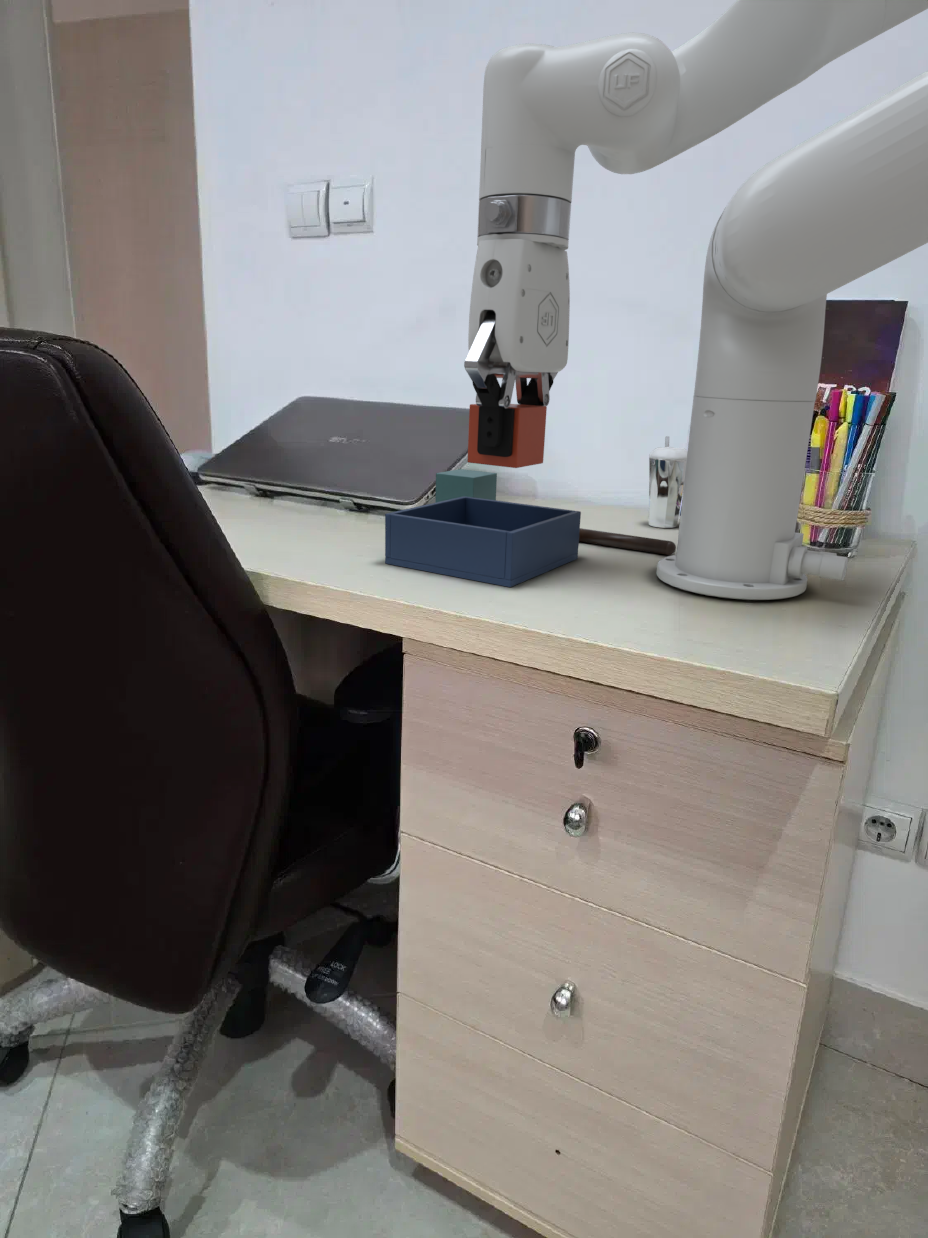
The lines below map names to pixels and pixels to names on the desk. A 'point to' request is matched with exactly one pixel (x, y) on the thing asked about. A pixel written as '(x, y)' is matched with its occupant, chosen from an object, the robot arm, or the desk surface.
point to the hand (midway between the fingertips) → (511, 450)
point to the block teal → (465, 484)
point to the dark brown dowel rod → (627, 541)
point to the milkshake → (666, 484)
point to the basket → (482, 539)
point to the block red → (524, 437)
